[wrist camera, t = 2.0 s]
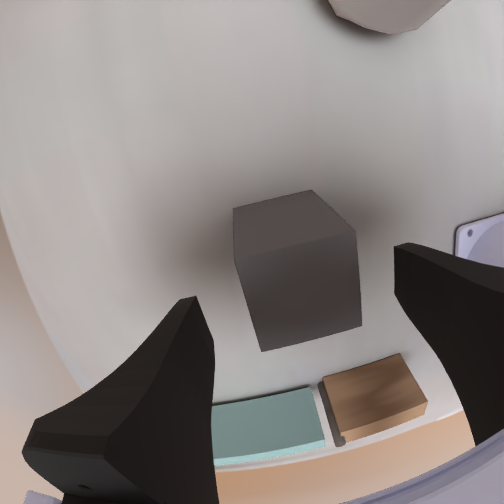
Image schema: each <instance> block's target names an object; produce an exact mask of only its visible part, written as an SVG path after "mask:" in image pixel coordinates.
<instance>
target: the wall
mask: <svg viewBox="0 0 504 504" xmlns="http://www.w3.org/2000/svg"><path fill="white" fill-rule="evenodd" d="M318 388H319V392H320V395H321V398H322V402H323V405H324V408H325V412H326V415H327V419H328V422H329V426H330V429H331V432H332V436H333V439H334V443H335V446H336V447H340V446H343V445H345V444H346V443H347V442H350V441H354V440H357V439H360V438H363V437H366V436H369V435H372V434H375V433H378V432H381V431H384V430H386V429H389V428H392V427H394V426H397V425H400V424H402V423H405V422H407V421H410V420H412V419H415V418H417V417H419V416H422V415H424V413H425V410H426V407H427V403H428V400H427V399H426V397H425V395H424V393H423V392H422V390H421V388H420V387H419V385H418V383H417V382H416V380H415V378H414V377H413V375H412V373H411V372H410V370H409V368H408V367H407V365H406V363H405V362H404V360H403V359H402V357H401V355H400V354H397V355H394V356H391V357H388V358H385V359H382V360H379V361H376V362H373V363H370V364H367V365H364V366H361V367H358V368H354V369H351V370H348V371H344V372H341V373H338V374H334V375H330V376H327V377H323V382H320V383H319V384H318Z"/></svg>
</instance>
